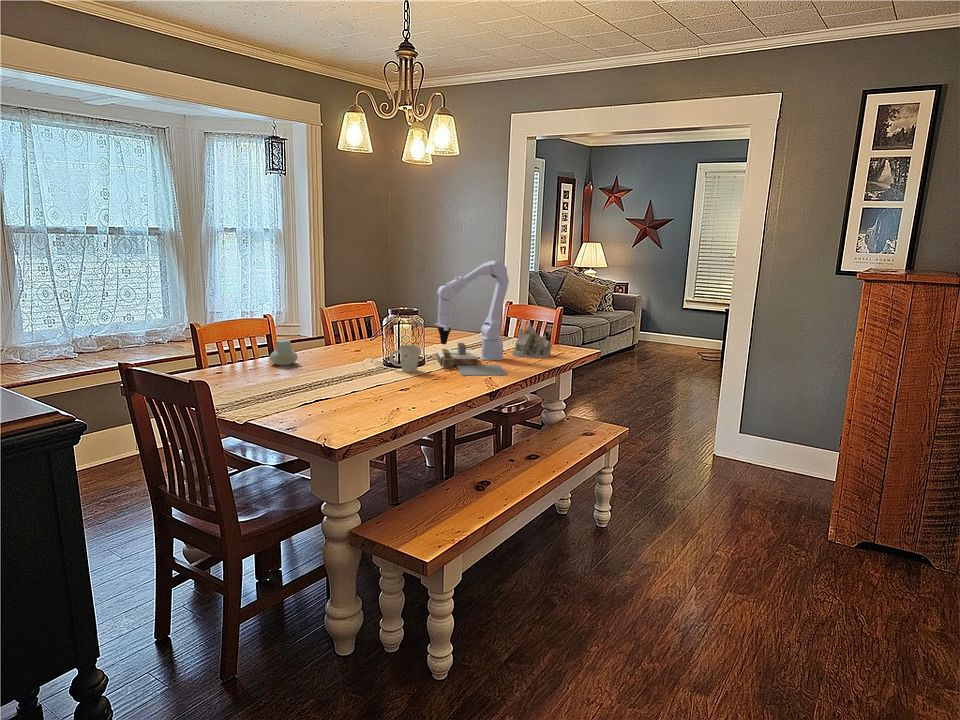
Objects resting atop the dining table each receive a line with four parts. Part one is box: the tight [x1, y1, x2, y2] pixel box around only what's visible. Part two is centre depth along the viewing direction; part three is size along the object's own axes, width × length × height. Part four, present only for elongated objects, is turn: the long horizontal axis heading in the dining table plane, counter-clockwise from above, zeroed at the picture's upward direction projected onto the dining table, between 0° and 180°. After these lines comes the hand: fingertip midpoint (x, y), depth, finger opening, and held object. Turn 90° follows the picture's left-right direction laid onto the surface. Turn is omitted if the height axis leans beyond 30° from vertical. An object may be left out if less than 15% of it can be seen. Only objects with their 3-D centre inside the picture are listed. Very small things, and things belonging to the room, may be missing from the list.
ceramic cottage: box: [512, 322, 553, 359], centre depth 299 cm, size 16×16×15 cm
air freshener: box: [269, 339, 299, 367], centre depth 263 cm, size 11×8×10 cm
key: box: [441, 348, 450, 358], centre depth 273 cm, size 2×8×2 cm, turn 11°
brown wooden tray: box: [436, 352, 479, 370], centre depth 277 cm, size 16×20×4 cm
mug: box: [389, 344, 421, 373], centre depth 260 cm, size 8×13×10 cm, turn 89°
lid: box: [436, 342, 479, 360], centre depth 279 cm, size 16×14×6 cm
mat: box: [455, 364, 509, 377], centre depth 266 cm, size 19×17×1 cm
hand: (443, 344), depth 281 cm, fingers closed
